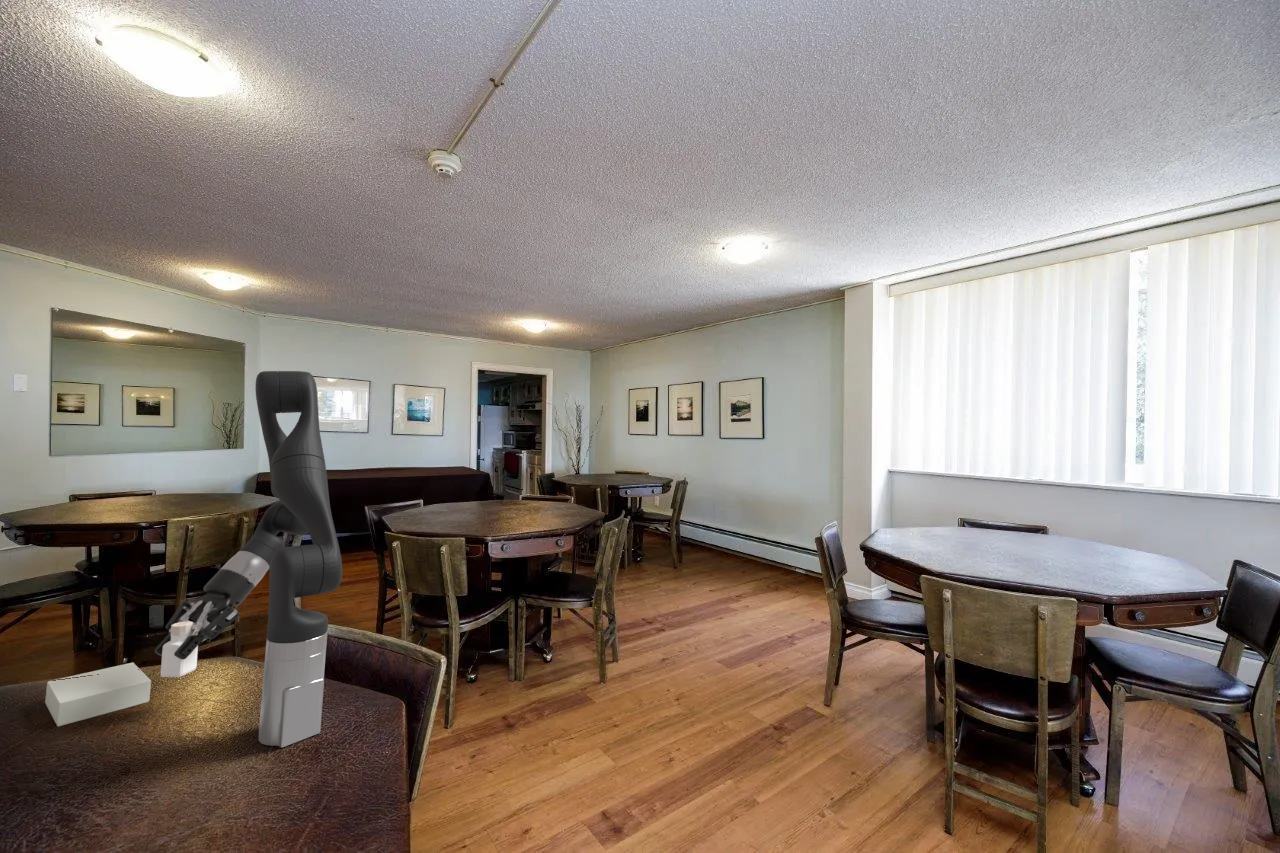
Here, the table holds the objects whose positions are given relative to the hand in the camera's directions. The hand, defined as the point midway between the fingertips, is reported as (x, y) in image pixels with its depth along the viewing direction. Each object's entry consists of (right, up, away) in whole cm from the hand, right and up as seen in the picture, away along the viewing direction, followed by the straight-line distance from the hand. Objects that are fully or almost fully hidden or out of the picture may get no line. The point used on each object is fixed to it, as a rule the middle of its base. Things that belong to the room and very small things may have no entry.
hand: (169, 655), depth 97 cm
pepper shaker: (0, -4, +2) cm, 5 cm away
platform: (-16, -10, +2) cm, 19 cm away
